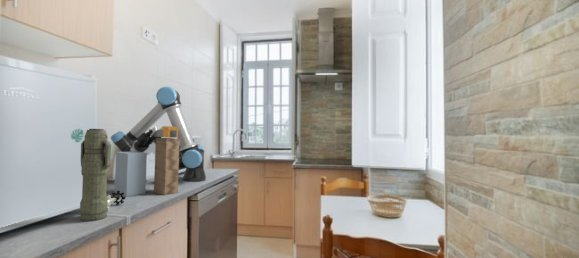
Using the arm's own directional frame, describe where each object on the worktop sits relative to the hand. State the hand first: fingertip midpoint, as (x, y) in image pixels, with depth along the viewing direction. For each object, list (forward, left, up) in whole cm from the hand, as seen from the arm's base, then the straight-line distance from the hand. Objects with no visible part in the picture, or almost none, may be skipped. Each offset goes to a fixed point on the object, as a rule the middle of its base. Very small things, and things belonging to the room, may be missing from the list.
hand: (160, 128), depth 162 cm
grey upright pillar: (+13, -5, -35) cm, 38 cm away
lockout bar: (0, +2, -5) cm, 5 cm away
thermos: (+43, +25, -36) cm, 61 cm away
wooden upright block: (0, +7, -35) cm, 36 cm away
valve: (+33, +16, -36) cm, 51 cm away
